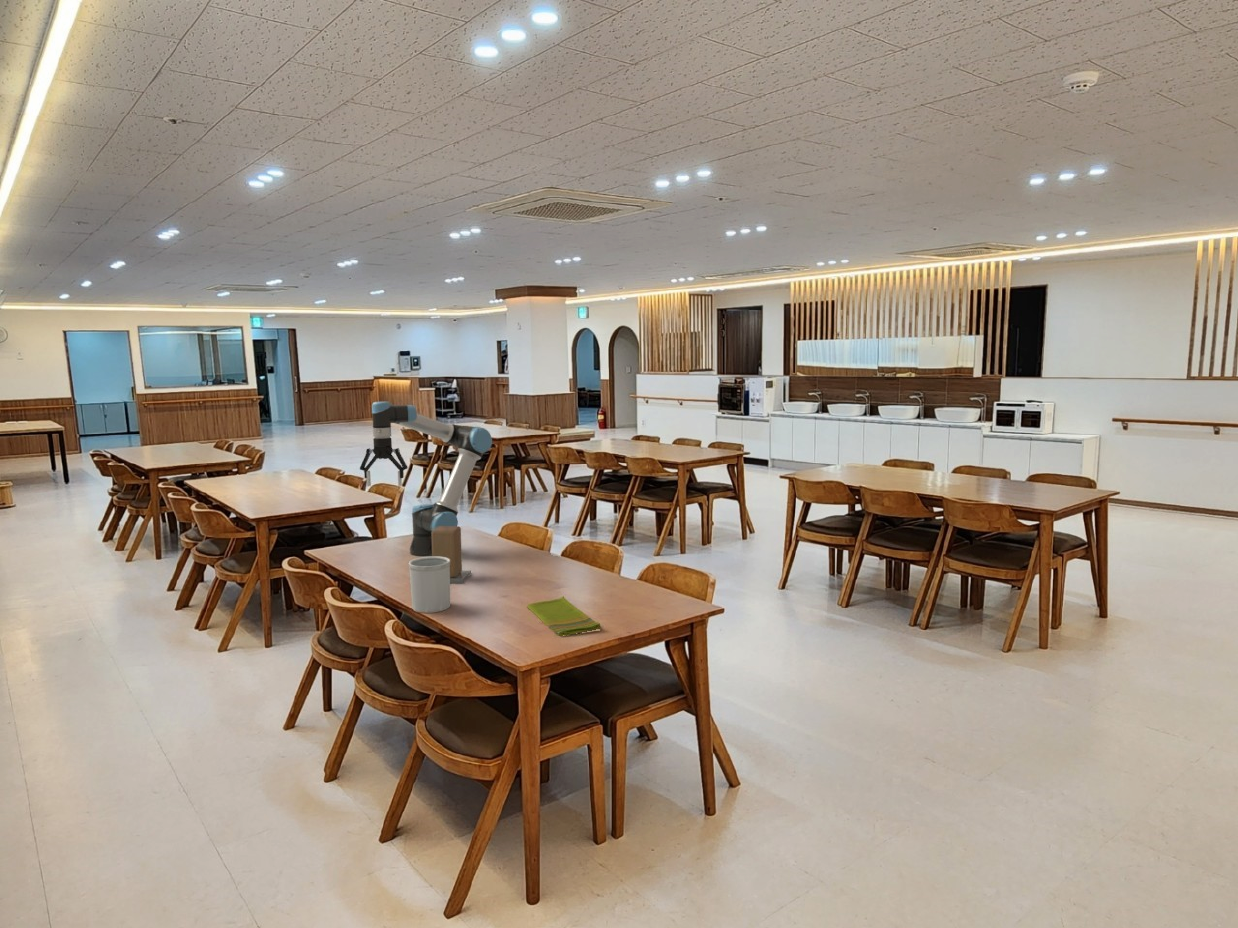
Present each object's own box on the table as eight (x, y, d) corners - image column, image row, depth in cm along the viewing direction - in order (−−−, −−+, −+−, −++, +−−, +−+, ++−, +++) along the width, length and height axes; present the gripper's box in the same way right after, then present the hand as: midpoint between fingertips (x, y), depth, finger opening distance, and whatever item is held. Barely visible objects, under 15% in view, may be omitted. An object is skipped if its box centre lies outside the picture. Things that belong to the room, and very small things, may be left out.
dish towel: (559, 638, 259) (559, 629, 258) (525, 608, 291) (525, 600, 291) (602, 632, 265) (602, 623, 265) (565, 603, 297) (565, 595, 297)
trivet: (434, 572, 339) (434, 569, 339) (471, 573, 338) (471, 570, 338) (423, 582, 323) (422, 579, 323) (461, 583, 322) (461, 580, 322)
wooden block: (462, 572, 335) (461, 525, 333) (455, 578, 325) (454, 530, 323) (439, 571, 336) (438, 525, 334) (432, 577, 326) (430, 530, 324)
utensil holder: (430, 616, 281) (429, 568, 279) (401, 609, 289) (399, 562, 286) (459, 605, 293) (458, 559, 291) (431, 599, 301) (429, 554, 299)
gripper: (350, 438, 339) (353, 487, 341) (408, 438, 338) (410, 486, 341) (356, 436, 346) (358, 484, 349) (413, 436, 346) (415, 484, 349)
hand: (384, 485), depth 345 cm, fingers open, 13 cm apart
